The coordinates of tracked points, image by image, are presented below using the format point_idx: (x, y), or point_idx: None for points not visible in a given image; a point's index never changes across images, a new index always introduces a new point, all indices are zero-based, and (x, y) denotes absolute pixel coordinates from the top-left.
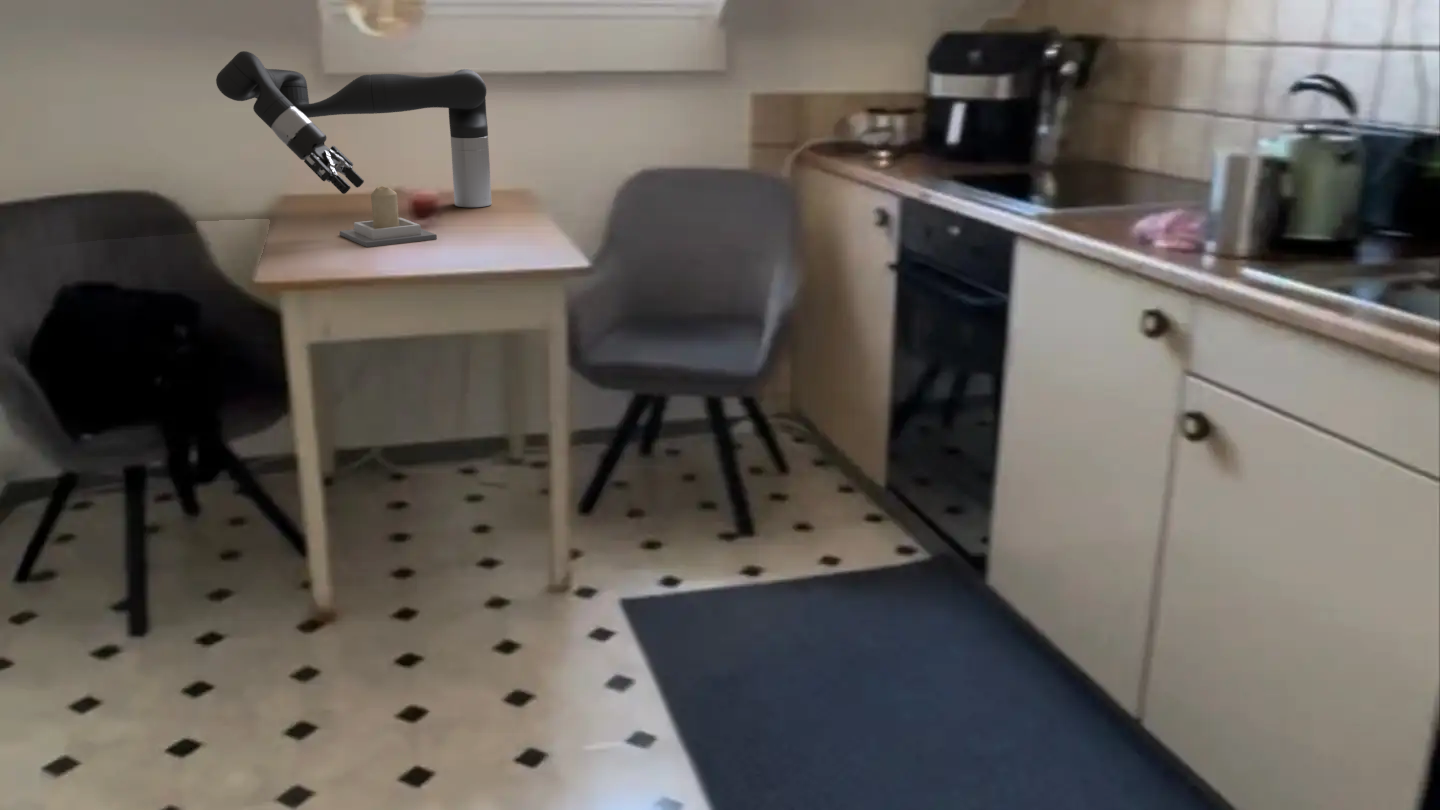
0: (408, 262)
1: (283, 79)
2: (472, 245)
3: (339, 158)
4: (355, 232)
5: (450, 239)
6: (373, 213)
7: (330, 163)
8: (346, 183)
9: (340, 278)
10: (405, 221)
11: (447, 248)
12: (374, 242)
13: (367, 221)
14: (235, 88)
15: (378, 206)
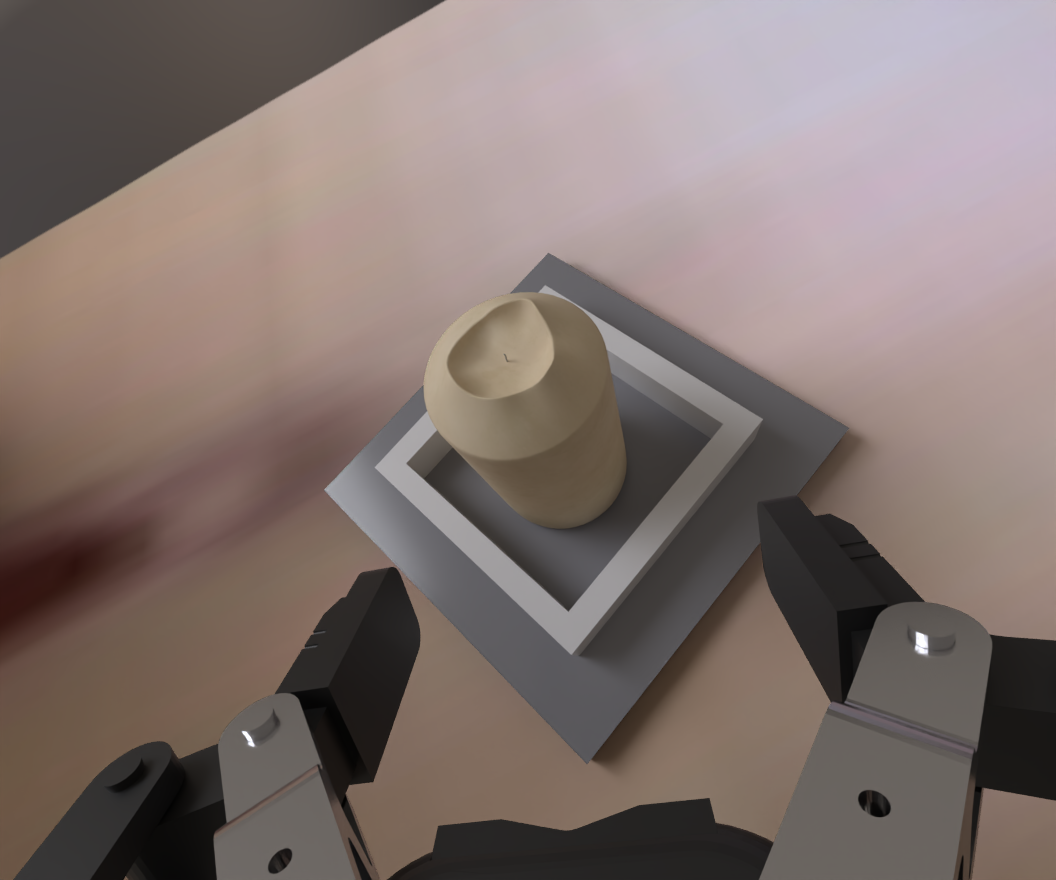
0: (1048, 121)
1: None
2: (626, 112)
3: (351, 858)
4: (606, 633)
5: (542, 223)
6: (603, 468)
7: (967, 763)
8: (800, 518)
9: None
10: None
11: (711, 148)
12: (806, 405)
13: (518, 585)
14: None
15: (615, 401)
